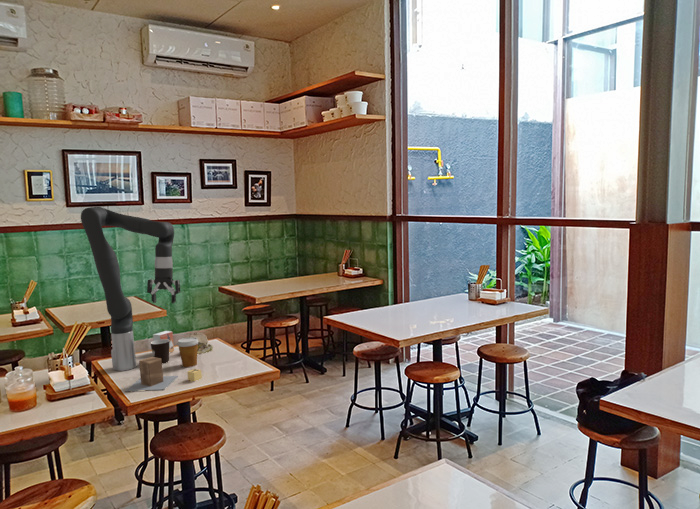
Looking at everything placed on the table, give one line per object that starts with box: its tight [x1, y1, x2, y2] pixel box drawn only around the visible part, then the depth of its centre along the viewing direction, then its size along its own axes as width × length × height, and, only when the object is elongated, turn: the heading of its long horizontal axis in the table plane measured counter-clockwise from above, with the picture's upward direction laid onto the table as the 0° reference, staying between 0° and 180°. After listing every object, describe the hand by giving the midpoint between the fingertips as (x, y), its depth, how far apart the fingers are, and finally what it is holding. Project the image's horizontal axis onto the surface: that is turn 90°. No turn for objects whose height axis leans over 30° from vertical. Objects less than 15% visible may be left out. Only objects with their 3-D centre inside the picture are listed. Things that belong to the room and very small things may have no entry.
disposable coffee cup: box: [176, 336, 199, 368], centre depth 243 cm, size 10×10×12 cm
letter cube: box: [187, 368, 203, 382], centre depth 222 cm, size 4×4×4 cm
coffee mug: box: [150, 339, 170, 364], centre depth 251 cm, size 12×9×10 cm
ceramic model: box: [188, 331, 214, 355], centre depth 264 cm, size 14×11×10 cm
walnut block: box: [138, 356, 164, 386], centre depth 219 cm, size 6×6×10 cm
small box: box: [152, 330, 175, 353], centre depth 265 cm, size 8×6×10 cm
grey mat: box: [124, 375, 179, 392], centre depth 220 cm, size 16×16×1 cm
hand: (163, 302), depth 236 cm, fingers open, 8 cm apart
